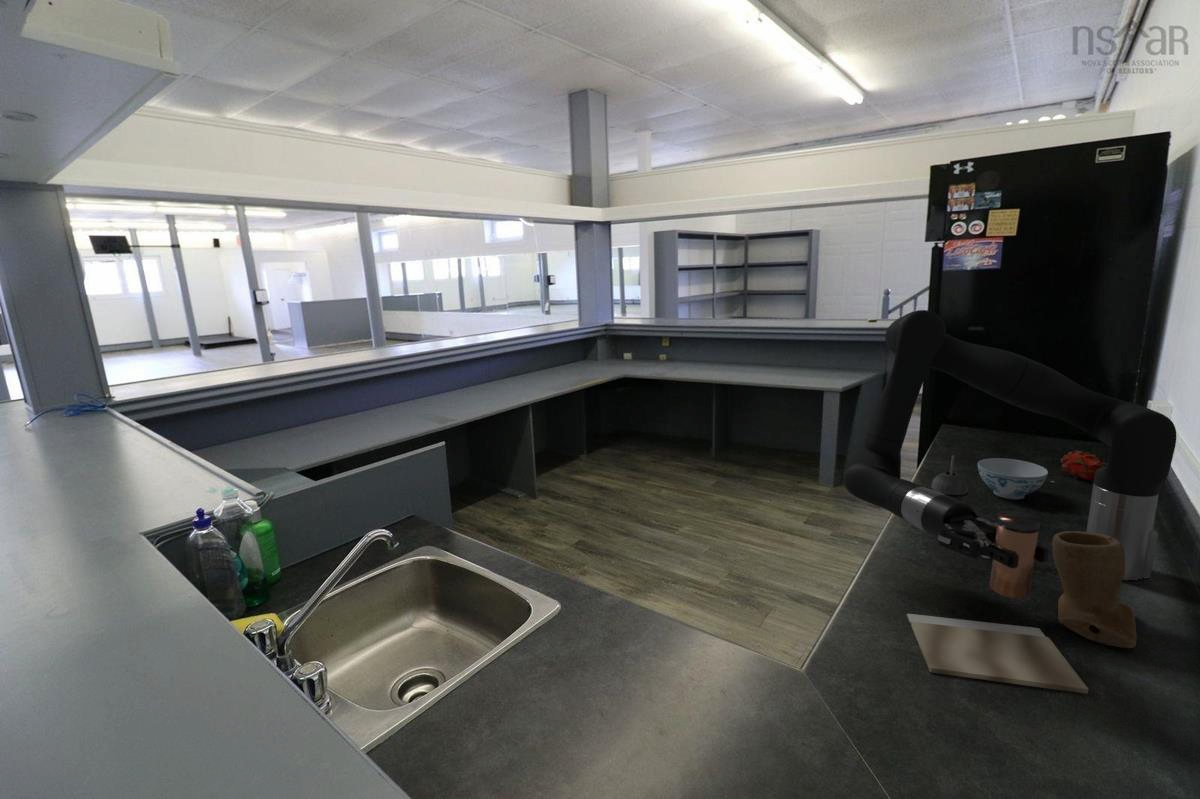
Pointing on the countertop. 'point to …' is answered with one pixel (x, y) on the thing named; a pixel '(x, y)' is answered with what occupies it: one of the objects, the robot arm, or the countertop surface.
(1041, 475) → the chinaware
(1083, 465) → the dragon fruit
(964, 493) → the beverage cup
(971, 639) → the board
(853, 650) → the countertop surface
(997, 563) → the canister
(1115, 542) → the brown hollow flared piece
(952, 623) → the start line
